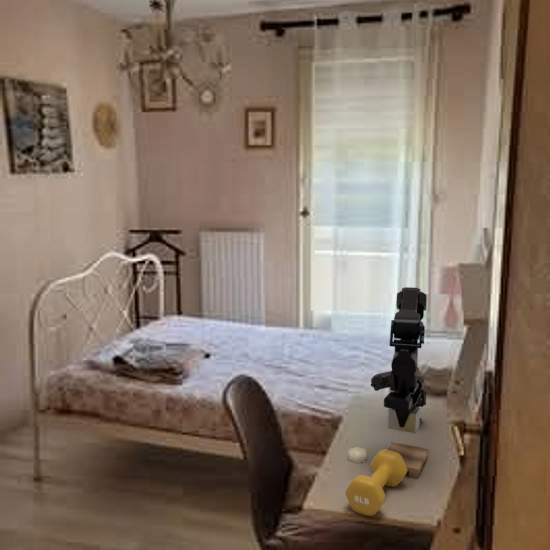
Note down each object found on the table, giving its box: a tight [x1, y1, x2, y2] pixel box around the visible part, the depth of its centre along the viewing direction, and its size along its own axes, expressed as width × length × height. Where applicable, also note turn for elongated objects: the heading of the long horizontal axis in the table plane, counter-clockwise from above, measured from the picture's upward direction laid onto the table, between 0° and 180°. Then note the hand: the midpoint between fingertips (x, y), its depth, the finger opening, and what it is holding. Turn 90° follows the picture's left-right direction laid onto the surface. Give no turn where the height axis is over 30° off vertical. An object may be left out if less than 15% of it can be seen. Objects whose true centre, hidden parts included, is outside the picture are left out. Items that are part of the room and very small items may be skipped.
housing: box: [387, 407, 421, 434], centre depth 154 cm, size 7×5×5 cm, turn 64°
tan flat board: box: [386, 441, 430, 479], centre depth 156 cm, size 12×10×2 cm
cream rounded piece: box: [347, 446, 368, 464], centre depth 160 cm, size 5×5×2 cm
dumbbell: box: [345, 448, 408, 517], centre depth 141 cm, size 19×9×8 cm, turn 148°
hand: (404, 423), depth 155 cm, fingers closed on housing, 5 cm apart
